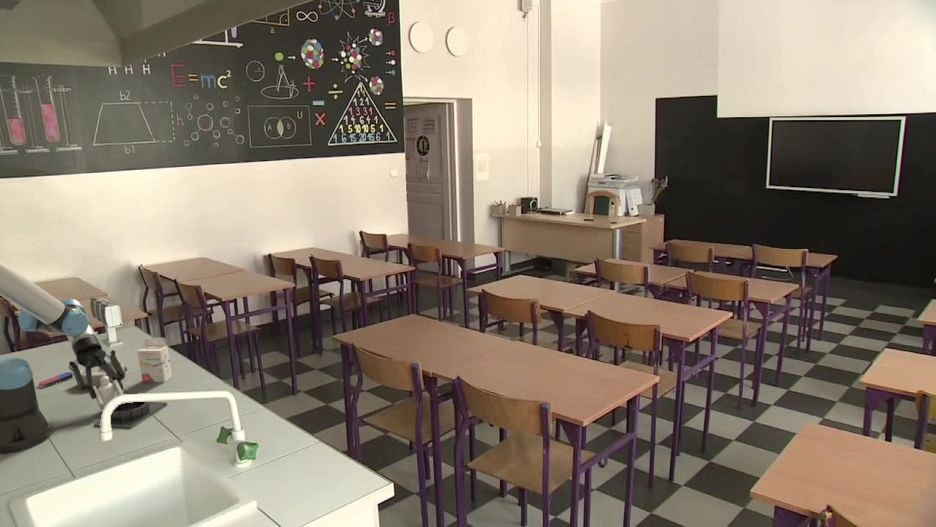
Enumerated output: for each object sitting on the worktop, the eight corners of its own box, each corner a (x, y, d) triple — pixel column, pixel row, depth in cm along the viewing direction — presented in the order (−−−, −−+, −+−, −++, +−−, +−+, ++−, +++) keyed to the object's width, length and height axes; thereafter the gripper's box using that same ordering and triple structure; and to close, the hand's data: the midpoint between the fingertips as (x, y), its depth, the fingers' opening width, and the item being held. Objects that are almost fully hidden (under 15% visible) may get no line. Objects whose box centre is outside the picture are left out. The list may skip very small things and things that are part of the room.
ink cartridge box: (141, 382, 228) (134, 342, 224) (149, 377, 232) (143, 337, 229) (165, 382, 227) (158, 341, 224) (172, 376, 232) (166, 337, 228)
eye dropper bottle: (97, 411, 206) (90, 375, 203) (115, 404, 210) (109, 369, 207) (103, 414, 203) (97, 377, 200) (122, 407, 207) (115, 371, 205)
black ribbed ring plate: (131, 428, 192) (130, 417, 192) (94, 425, 195) (92, 415, 194) (167, 404, 208) (165, 395, 207) (131, 403, 210) (130, 393, 210)
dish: (71, 388, 226) (69, 374, 225) (102, 373, 239) (100, 360, 238) (107, 390, 223) (104, 376, 222) (136, 374, 236) (134, 361, 235)
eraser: (42, 390, 226) (41, 385, 226) (36, 388, 229) (35, 383, 228) (75, 377, 236) (74, 373, 235) (69, 375, 238) (68, 371, 237)
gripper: (113, 340, 220) (140, 398, 212) (51, 356, 206) (78, 418, 199) (116, 328, 215) (145, 386, 208) (53, 343, 202) (81, 407, 194)
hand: (112, 402), depth 203 cm, fingers closed on eye dropper bottle, 5 cm apart
